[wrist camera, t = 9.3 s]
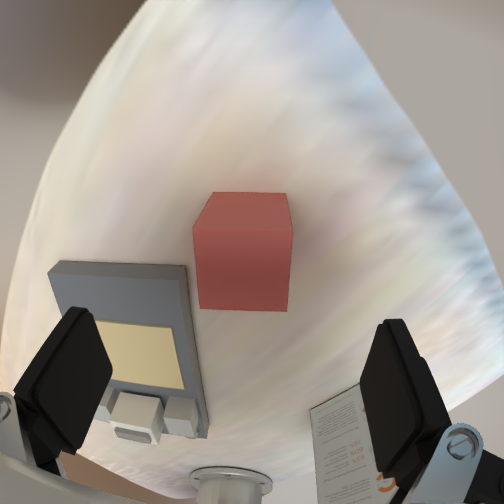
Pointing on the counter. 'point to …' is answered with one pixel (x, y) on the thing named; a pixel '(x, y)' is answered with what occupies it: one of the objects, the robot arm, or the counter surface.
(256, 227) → the red block
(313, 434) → the small box
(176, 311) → the breaker panel
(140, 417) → the breaker switch
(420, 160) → the counter surface
